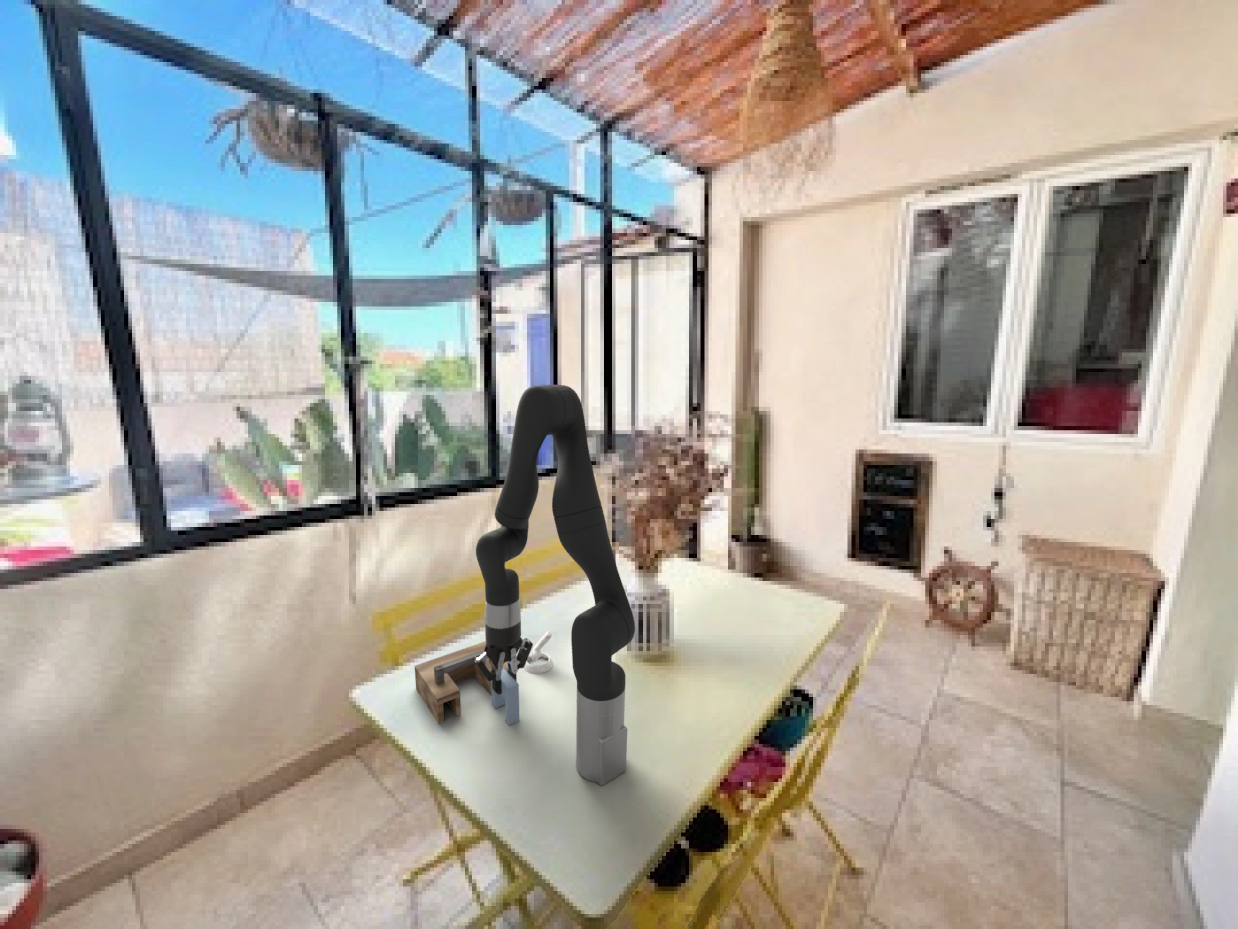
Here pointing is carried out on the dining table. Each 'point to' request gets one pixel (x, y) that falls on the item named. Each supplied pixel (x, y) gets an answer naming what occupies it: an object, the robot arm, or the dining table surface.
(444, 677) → the wooden stand with handle
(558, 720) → the dining table surface
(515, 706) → the blue arch block
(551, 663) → the mortar and pestle
